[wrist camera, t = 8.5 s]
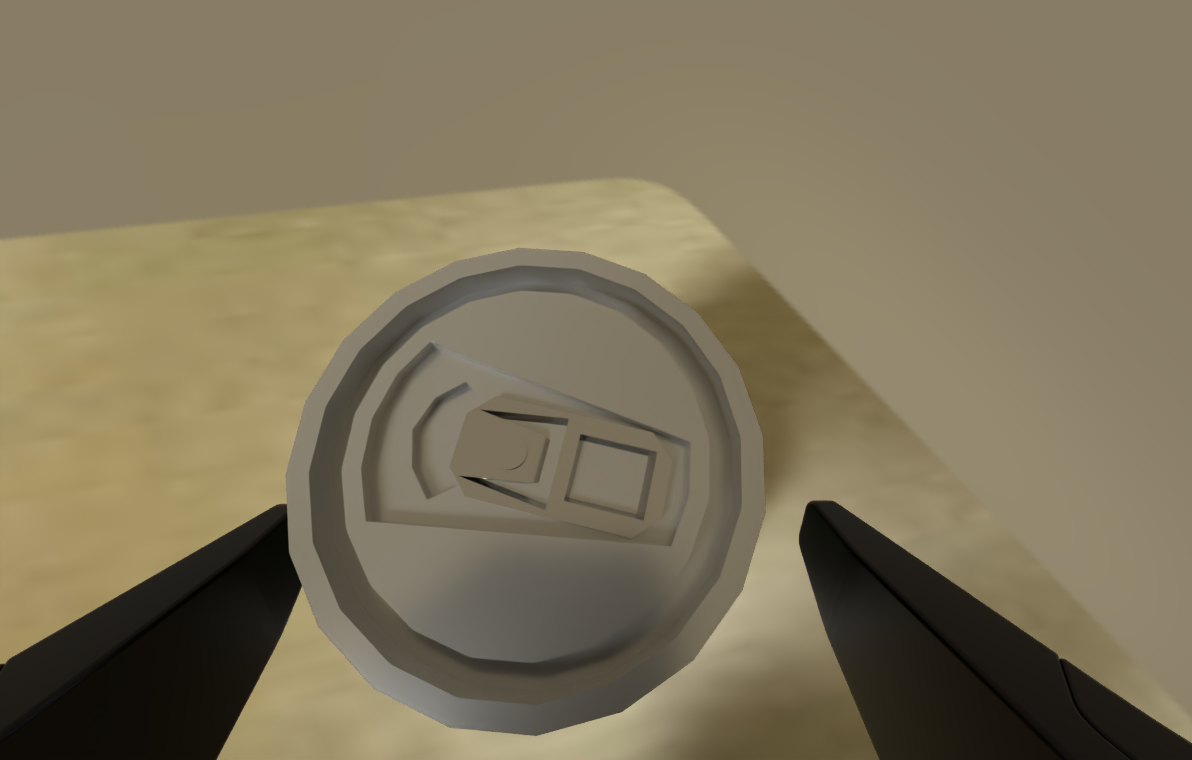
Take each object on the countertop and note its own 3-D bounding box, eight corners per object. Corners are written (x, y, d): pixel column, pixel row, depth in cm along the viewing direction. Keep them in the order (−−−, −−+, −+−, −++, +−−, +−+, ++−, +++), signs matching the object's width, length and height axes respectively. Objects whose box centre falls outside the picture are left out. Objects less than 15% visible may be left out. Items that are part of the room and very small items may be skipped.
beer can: (669, 449, 17) (815, 280, 5) (638, 610, 15) (750, 850, 4) (524, 415, 17) (376, 192, 6) (479, 568, 16) (160, 675, 4)
